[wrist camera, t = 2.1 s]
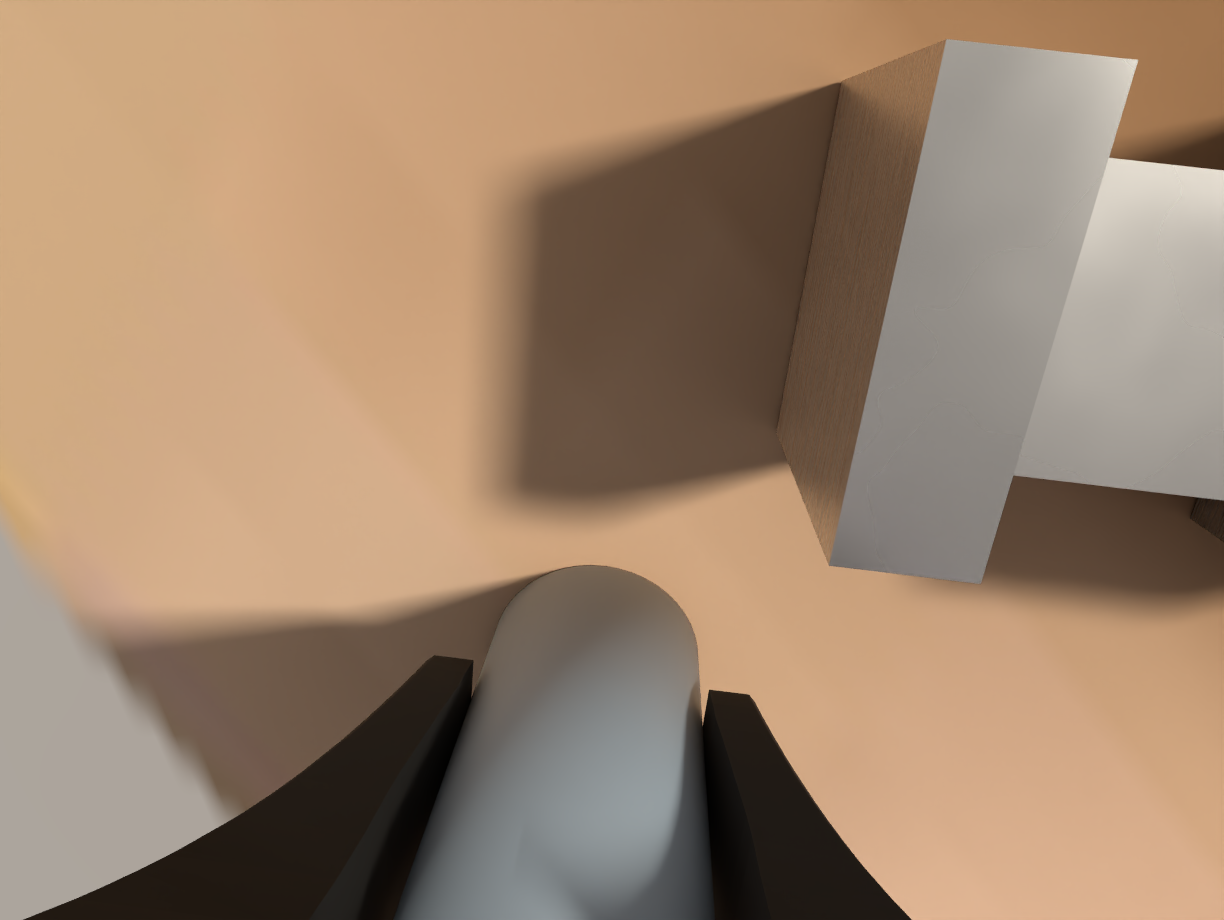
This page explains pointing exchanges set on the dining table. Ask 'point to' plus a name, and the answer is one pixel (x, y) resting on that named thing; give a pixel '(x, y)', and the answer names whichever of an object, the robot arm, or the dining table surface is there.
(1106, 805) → the dining table surface
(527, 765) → the grey rounded cylinder
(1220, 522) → the block
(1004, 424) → the pin
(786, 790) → the robot arm
